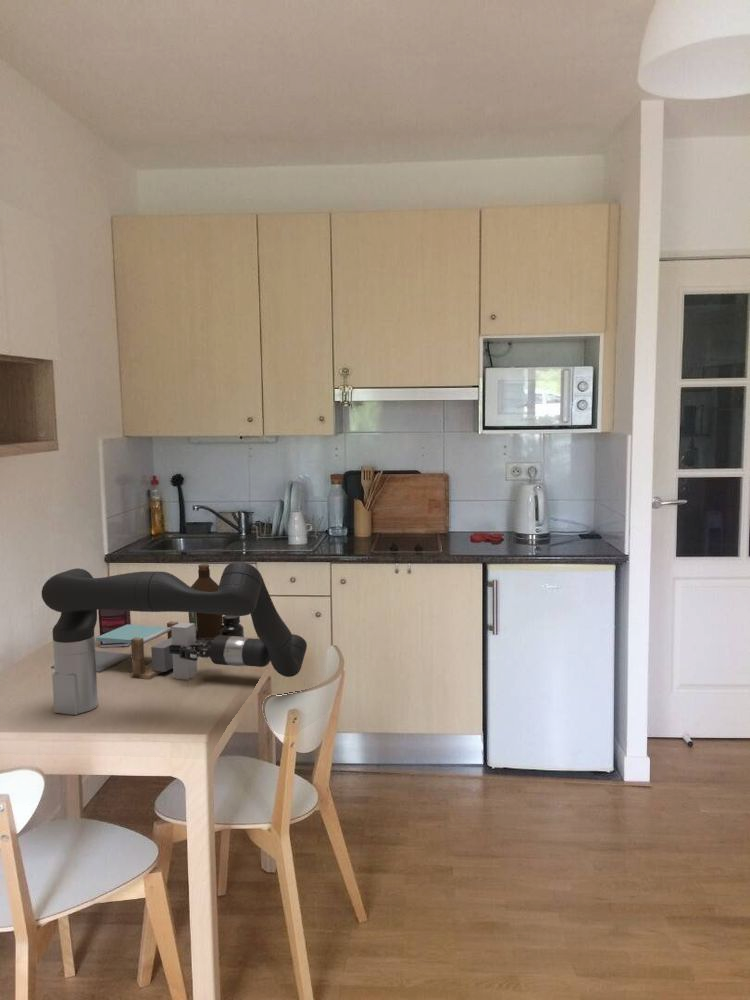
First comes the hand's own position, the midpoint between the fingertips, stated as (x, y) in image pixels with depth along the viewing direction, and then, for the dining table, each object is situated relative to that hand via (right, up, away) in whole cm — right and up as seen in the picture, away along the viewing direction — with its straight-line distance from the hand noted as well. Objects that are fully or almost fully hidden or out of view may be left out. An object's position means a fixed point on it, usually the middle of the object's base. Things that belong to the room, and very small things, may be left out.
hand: (175, 646), depth 206 cm
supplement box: (-26, -6, +31) cm, 41 cm away
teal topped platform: (-11, -6, +9) cm, 15 cm away
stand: (-6, -7, +8) cm, 13 cm away
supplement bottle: (+12, -6, +17) cm, 22 cm away
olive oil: (+2, -5, +28) cm, 29 cm away
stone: (+3, -8, 0) cm, 8 cm away
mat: (-27, -7, +15) cm, 32 cm away
